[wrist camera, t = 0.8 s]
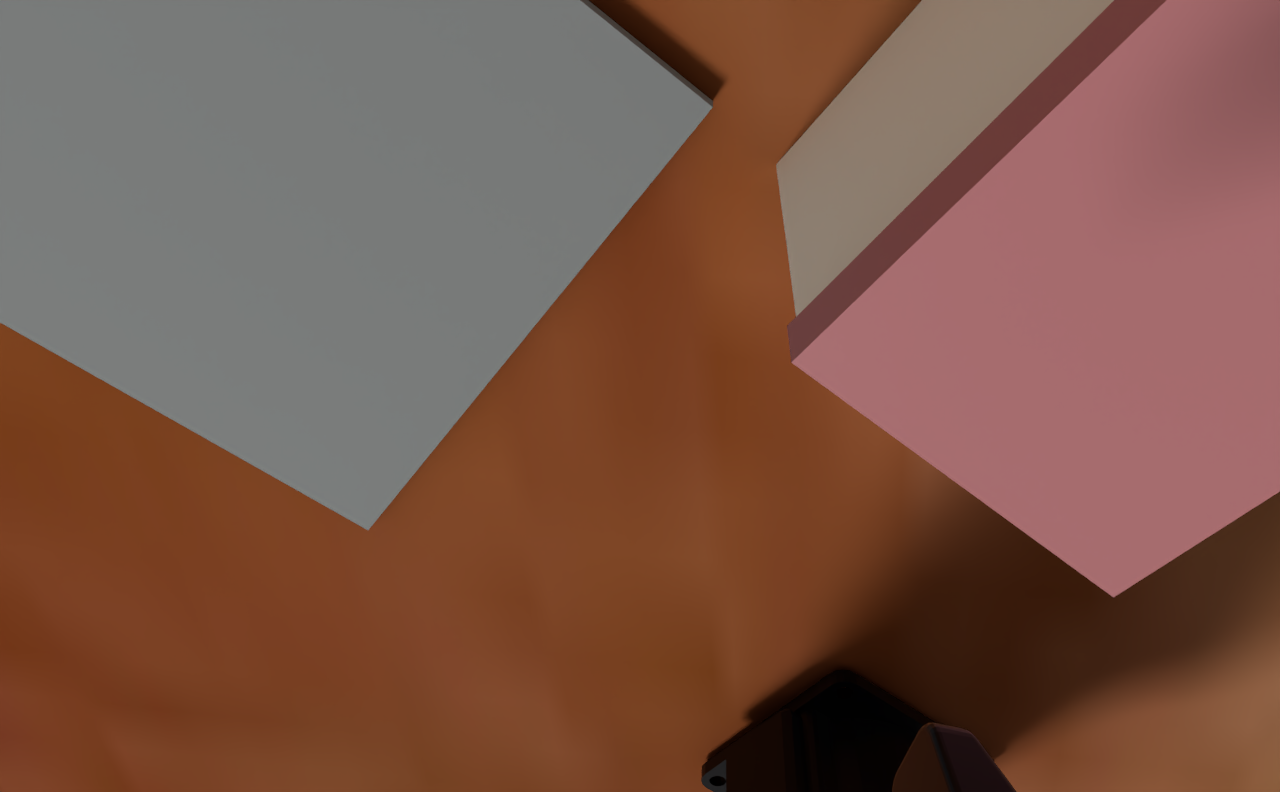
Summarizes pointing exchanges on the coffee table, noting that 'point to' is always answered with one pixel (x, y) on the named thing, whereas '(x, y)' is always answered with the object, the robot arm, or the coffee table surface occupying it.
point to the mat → (315, 207)
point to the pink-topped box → (1057, 263)
